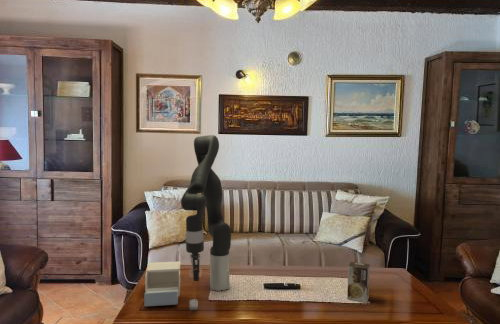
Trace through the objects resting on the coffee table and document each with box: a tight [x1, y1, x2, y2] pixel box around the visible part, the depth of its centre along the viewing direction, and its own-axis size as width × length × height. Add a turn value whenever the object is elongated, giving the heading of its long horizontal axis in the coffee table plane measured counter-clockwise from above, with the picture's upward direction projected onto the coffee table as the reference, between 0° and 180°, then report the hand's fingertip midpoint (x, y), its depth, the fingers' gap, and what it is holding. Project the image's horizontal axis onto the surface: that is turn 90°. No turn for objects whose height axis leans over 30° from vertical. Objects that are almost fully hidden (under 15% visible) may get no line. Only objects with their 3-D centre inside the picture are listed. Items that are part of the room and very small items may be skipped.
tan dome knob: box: [188, 267, 203, 279], centre depth 167 cm, size 6×6×2 cm
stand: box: [189, 298, 199, 312], centre depth 169 cm, size 4×4×4 cm
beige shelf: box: [144, 261, 181, 297], centre depth 187 cm, size 16×15×12 cm
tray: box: [143, 287, 179, 307], centre depth 175 cm, size 14×14×6 cm
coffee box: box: [346, 261, 371, 303], centre depth 180 cm, size 9×6×16 cm
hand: (195, 278), depth 167 cm, fingers closed on tan dome knob, 5 cm apart
